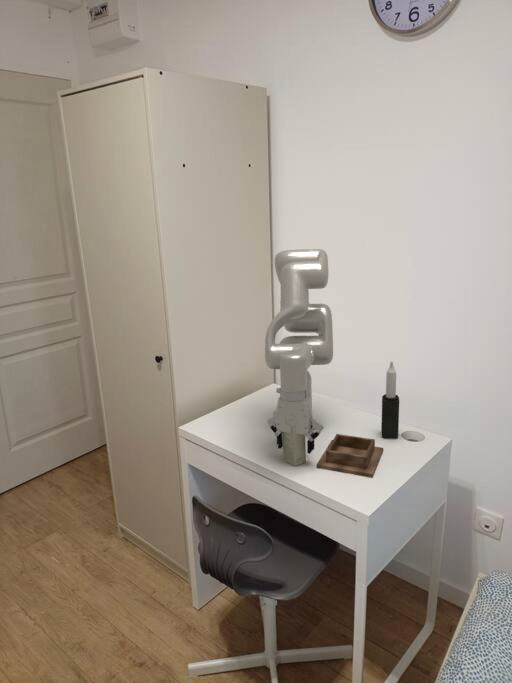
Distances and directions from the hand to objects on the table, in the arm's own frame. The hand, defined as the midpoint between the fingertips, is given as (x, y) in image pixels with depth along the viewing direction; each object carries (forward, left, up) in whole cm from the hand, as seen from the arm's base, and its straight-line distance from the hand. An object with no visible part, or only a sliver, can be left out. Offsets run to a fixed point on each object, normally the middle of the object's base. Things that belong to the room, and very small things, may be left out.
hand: (295, 449), depth 147 cm
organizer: (+15, +6, -4) cm, 17 cm away
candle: (+23, +25, -4) cm, 34 cm away
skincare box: (-1, 0, -4) cm, 4 cm away
